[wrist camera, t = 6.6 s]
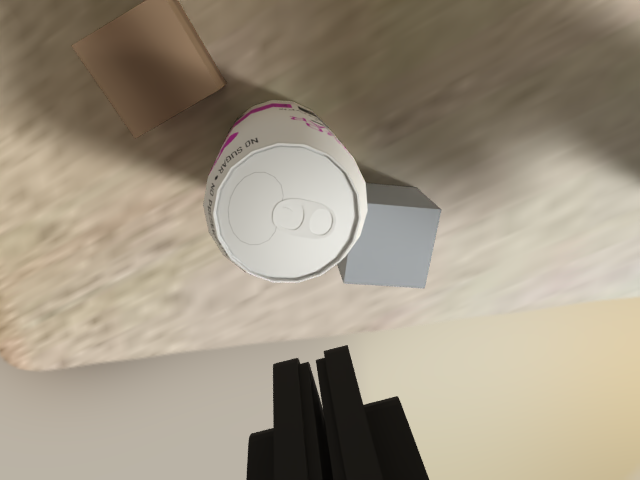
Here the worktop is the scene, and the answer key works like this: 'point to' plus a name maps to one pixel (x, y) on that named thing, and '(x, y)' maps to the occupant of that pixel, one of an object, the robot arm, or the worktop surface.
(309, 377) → the robot arm
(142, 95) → the walnut block
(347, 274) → the slate grey block
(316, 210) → the supplement can
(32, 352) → the worktop surface
